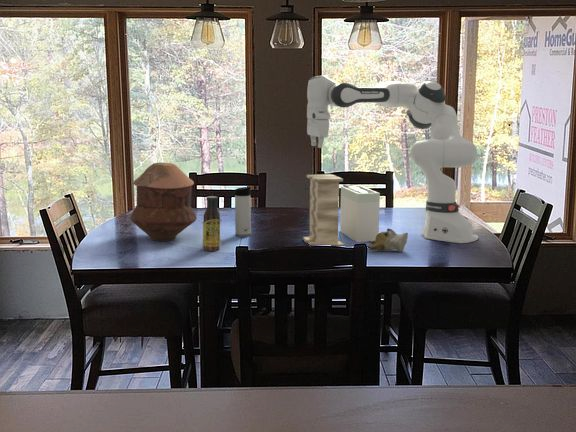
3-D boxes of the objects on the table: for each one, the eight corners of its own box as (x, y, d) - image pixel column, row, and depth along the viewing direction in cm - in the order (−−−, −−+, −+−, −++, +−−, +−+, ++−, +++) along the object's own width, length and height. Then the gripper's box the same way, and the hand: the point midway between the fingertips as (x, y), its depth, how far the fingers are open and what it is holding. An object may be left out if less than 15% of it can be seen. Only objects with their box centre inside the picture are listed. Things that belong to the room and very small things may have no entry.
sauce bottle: (205, 252, 236) (204, 198, 232) (200, 248, 242) (199, 196, 238) (222, 250, 239) (222, 197, 235) (217, 247, 244) (216, 194, 240)
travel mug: (249, 237, 260) (249, 188, 256) (233, 236, 261) (232, 187, 257) (253, 234, 266) (253, 185, 262) (237, 233, 267) (237, 185, 263)
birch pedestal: (302, 239, 256) (303, 174, 251) (331, 238, 259) (332, 173, 254) (314, 249, 241) (315, 180, 236) (345, 247, 244) (346, 179, 239)
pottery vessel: (126, 234, 265) (123, 160, 260) (188, 229, 275) (186, 158, 269) (137, 248, 242) (133, 168, 236) (203, 242, 251) (202, 165, 245)
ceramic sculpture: (407, 231, 232) (365, 231, 235) (407, 255, 233) (366, 255, 236) (408, 225, 242) (367, 226, 245) (408, 248, 243) (368, 248, 247)
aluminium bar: (343, 190, 275) (343, 184, 275) (349, 189, 276) (349, 184, 275) (361, 198, 254) (361, 192, 254) (368, 198, 255) (368, 192, 254)
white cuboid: (340, 231, 272) (341, 186, 268) (360, 230, 274) (361, 185, 271) (356, 242, 253) (358, 193, 249) (378, 240, 255) (379, 193, 252)
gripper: (303, 113, 286) (303, 145, 289) (317, 115, 267) (316, 148, 269) (317, 113, 288) (317, 144, 290) (331, 115, 268) (331, 148, 271)
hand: (317, 146), depth 280 cm, fingers open, 8 cm apart
